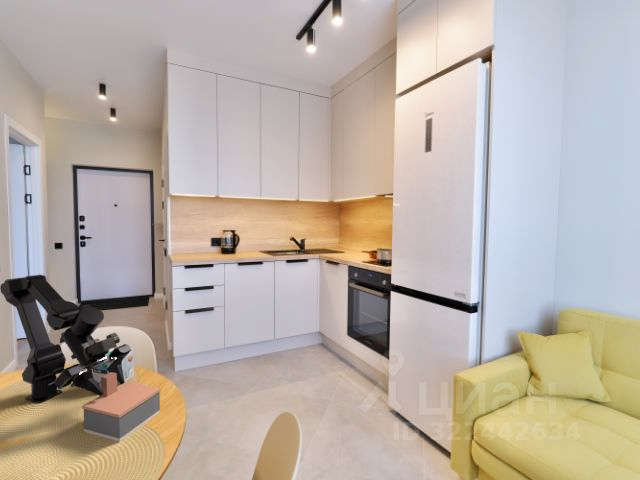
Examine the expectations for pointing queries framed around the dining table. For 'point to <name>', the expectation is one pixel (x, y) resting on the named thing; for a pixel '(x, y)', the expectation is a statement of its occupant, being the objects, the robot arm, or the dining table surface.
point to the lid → (119, 396)
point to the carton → (121, 420)
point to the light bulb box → (126, 367)
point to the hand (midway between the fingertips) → (113, 389)
